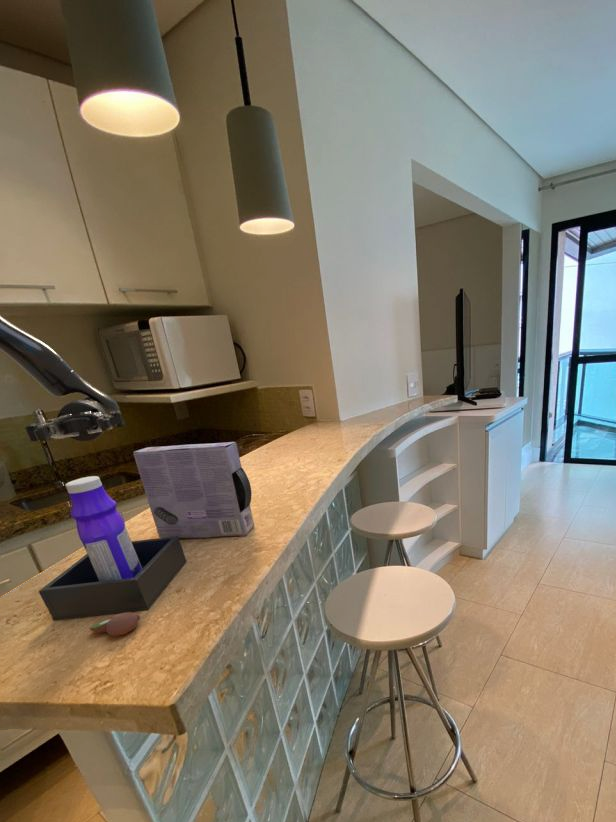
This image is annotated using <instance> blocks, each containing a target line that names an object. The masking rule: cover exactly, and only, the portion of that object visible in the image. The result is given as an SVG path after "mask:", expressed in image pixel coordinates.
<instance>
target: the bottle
mask: <svg viewBox="0 0 616 822" xmlns="http://www.w3.org/2000/svg"><path fill="white" fill-rule="evenodd" d="M65 488H66V490H67V493H68V495H69V498H70V502H71V511H70V517H71V518H72V519H74V520H75V522H76V531H77V532H76V533H77V535H78V538H79V540H80V541H81V543H82V546H83V547H84V550H85V551H86V554H88V556H89V559H90V561H91V563H92V565H93V568H94V570H95V572H96V575H97V577H98V579H99V582H101V581H109V580H118V579H126V578H134V577H135V576H136V575H137V574H138V573H139V572H140V571H141V570H142V569H143V568H142V566H141V564H140V562H139V559H138V557H137V554H136V552H135V549H134V547H133V544H132V542H131V541H132V540H131V537H130V535H129V532H128V530H127V527H126V523H125V521H124V518H123V517H122V515H121V513H120V512H119V511H118V510H117V506H118V504H117V502H116V501H115V500H114V499H112V498H111V496H110V495H109V494H108V493H107V492H106V490H105V488H104V485H103V483H102V481H101V479H100V476H98V475H97V476H96V475H91V476H85V477H80V478H77V479H74V480H71V481H69V482H68V481H67V483H65Z"/></svg>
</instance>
